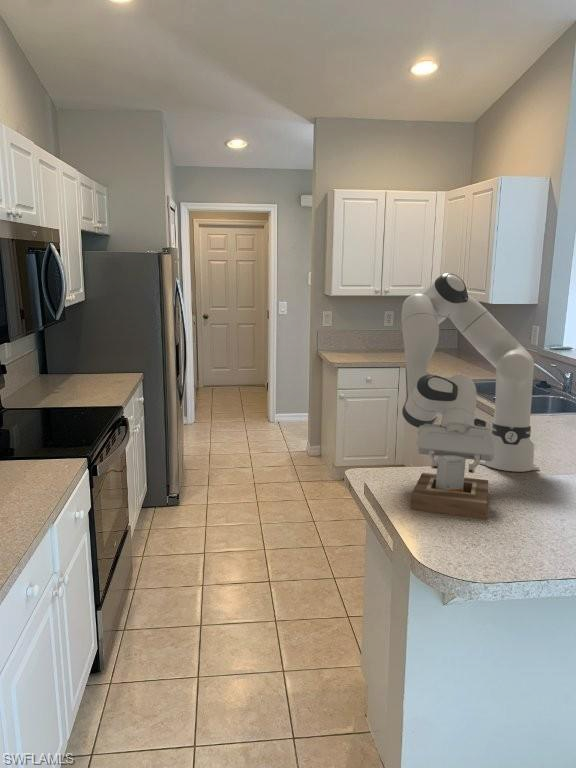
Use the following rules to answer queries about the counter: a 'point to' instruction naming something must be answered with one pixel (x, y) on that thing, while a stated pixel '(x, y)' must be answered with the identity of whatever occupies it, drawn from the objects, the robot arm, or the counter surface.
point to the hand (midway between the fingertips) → (452, 469)
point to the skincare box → (450, 473)
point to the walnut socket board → (451, 497)
